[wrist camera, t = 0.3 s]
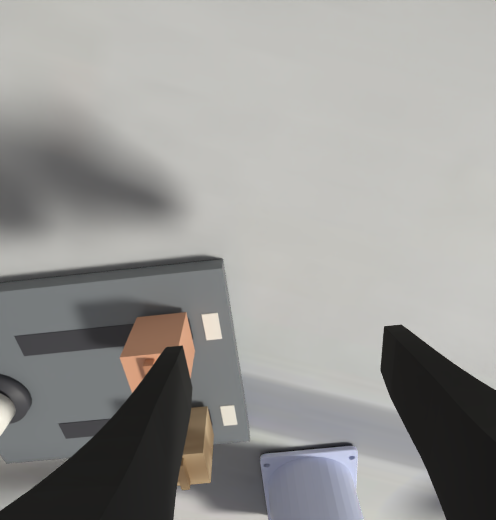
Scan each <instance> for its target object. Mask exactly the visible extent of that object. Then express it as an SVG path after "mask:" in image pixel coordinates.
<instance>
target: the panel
mask: <svg viewBox="0 0 496 520" xmlns="http://www.w3.org/2000/svg"><path fill="white" fill-rule="evenodd" d="M183 312H186V313H187V318H188V322H189V326H190V331H191V335H192V340H193V344H194V349H195V354H194V360H193V366H192V373H191V383H192V387H193V388H192V403H191V408H195V407H206V406H207V407H208V411H209V416H210V420H211V424H212V429H213V433H214V440H213V444H224V443H235V442H246V441H250V434H249V422H248V416H247V410H246V403H245V397H244V390H243V384H242V378H241V371H240V365H239V358H238V352H237V346H236V339H235V333H234V326H233V320H232V313H231V307H230V301H229V294H228V288H227V281H226V275H225V269H224V262H223V259H218V260H209V261H199V262H190V263H181V264H171V265H162V266H152V267H143V268H134V269H124V270H115V271H106V272H96V273H87V274H78V275H68V276H59V277H50V278H40V279H31V280H22V281H12V282H3V283H0V393H1V394H3V395H5V396H6V397H8V398H9V399H10V400H11V401H12V402H13V404H14V405H15V408H16V412H15V415H14V417H13V418H12V420H11V421H10V423H9V424H8V426H7V427H6V429H5V430H4V432H3V433H2V435H1V436H0V455H1V456H2V458H3V460H4V461H5V463H6V464H8V463H18V462H29V461H40V460H51V459H62V458H70V457H72V456H73V455H74V454H75V453H76V452H77V451H78V450H79V449H80V448H82V447H83V446H84V445H85V444H86V443H87V442H88V441H89V440H90V439H91V438H92V437H93V436H94V435H95V434H96V433H97V432H98V431H99V430H100V429H101V428H102V427H103V426H104V425H105V424H106V423H107V422H108V421H109V420H110V419H111V418H112V416H113V415H114V414H115V413H116V412H117V411H118V410H119V408H120V407H121V406H122V405H123V404H124V402H125V401H126V400H127V399H128V398H129V396H130V395H131V394H132V391H131V389H130V386H129V383H128V380H127V377H126V374H125V371H124V369H123V366H122V363H121V360H120V356H121V353H122V351H123V349H124V346H125V344H126V341H127V339H128V337H129V334H130V332H131V330H132V327H133V325H134V323H135V320H136V318H137V317H144V316H153V315H163V314H173V313H183Z"/></svg>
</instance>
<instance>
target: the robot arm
mask: <svg viewBox="0 0 496 520" xmlns="http://www.w3.org/2000/svg"><path fill="white" fill-rule="evenodd" d="M381 373H382V376H383V379H384V382H385V384H386V387H387V390H388V392H389V395H390V397H391V400H392V402H393V404H394V406H395V408H396V409H397V411H398V413H399V415H400V417H401V419H402V421H403V423H404V425H405V427H406V429H407V431H408V433H409V435H410V437H411V439H412V441H413V443H414V445H415V446H416V448H417V450H418V452H419V454H420V456H421V458H422V460H423V463H424V465H425V467H426V469H427V471H428V474H429V476H430V479H431V481H432V484H433V486H434V489H435V491H436V494H437V496H438V498H439V501H440V504H441V506H442V509H443V511H444V514H445V517H446V519H447V520H496V390H494V389H493V388H491V387H489V386H488V385H486V384H484V383H483V382H481V381H479V380H478V379H476V378H475V377H473V376H472V375H470V374H469V373H467V372H466V371H464V370H462V369H461V368H460V367H458V366H457V365H455V364H454V363H452V362H451V361H449V360H448V359H447V358H445V357H444V356H443V355H441V354H440V353H438V352H437V351H436V350H434V349H433V348H432V347H430V346H429V345H428V344H426V343H425V342H424V341H422V340H421V339H420V338H418V337H417V336H416V335H415V334H413V333H412V332H411V331H409V330H408V329H407V328H405V327H404V326H403V325H393V326H384V334H383V347H382V359H381ZM192 388H193V387H192V383H191V379H190V374H189V370H188V366H187V361H186V357H185V353H184V348H183V346H172V347H166V348H165V349H164V350H163V352H162V353H161V354H160V356H159V357H158V359H157V360H156V362H155V363H154V364H153V366H152V367H151V369H150V370H149V371H148V373H147V374H146V376H145V377H144V378H143V380H142V381H141V382H140V384H139V385H138V386H137V388H136V389H135V390H134V391H133V393H132V394H131V395H130V396H129V398H128V399H127V400H126V401H125V402H124V404H123V405H122V406H121V407H120V408H119V410H118V411H117V412H116V413H115V414H114V415H113V416H112V418H111V419H110V420H109V421H108V422H107V423H106V424H105V425H104V426H103V427H102V428H101V429H100V430H99V431H98V432H97V433H96V434H95V435H94V436H93V437H92V438H91V439H90V440H89V441H88V442H87V443H86V444H85V445H84V446H83V447H82V448H80V449H79V450H78V451H77V452H76V453H75V454H74V455H73V456H72V457H70V458H69V459H68V460H67V461H66V462H65V463H64V464H62V465H61V466H60V467H59V468H57V469H56V470H55V471H54V472H53V473H51V474H50V475H49V476H48V477H46V478H45V479H44V480H42V481H41V482H40V483H39V484H37V485H36V486H35V487H33V488H32V489H31V490H29V491H28V492H27V493H25V494H24V495H22V496H21V497H19V498H18V499H17V500H15V501H14V502H12V503H11V504H9V505H8V506H7V507H5V508H4V509H2V510H1V511H0V520H173V517H174V507H175V497H176V489H177V483H178V477H179V471H180V466H181V461H182V456H183V451H184V446H185V441H186V436H187V431H188V426H189V420H190V415H191V403H192ZM357 461H358V451H357V448H356V447H355V446H343V447H332V448H321V449H310V450H299V451H288V452H277V453H266V454H262V455H261V456H260V465H261V472H262V479H263V485H264V492H265V499H266V506H267V513H268V520H364V517H363V514H362V510H361V507H360V503H359V500H358V496H357V493H356V482H357Z"/></svg>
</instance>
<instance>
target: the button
mask: <svg viewBox="0 0 496 520" xmlns="http://www.w3.org/2000/svg"><path fill="white" fill-rule="evenodd" d="M15 412H16V408H15V405H14V404H13V402H12V401H11V400H10V399H9V398H8V397H6V396H5V395H3V394H1V393H0V436H1V435H2V433H3V432H4V430H5V429H6V427H7V426H8V424H9V423H10V421H11V420H12V418H13V417H14V415H15Z"/></svg>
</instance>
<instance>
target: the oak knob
mask: <svg viewBox="0 0 496 520" xmlns="http://www.w3.org/2000/svg"><path fill="white" fill-rule="evenodd" d="M213 440H214V433H213V429H212V424H211V420H210V416H209V411H208V407H207V406H206V407H195V408H191V415H190V420H189V426H188V431H187V436H186V441H185V446H184V451H183V456H182V461H181V466H180V471H179V477H178V483H177V486H181V489H182V490H190V485H191V484H202V483H211V469H212V455H213Z"/></svg>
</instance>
